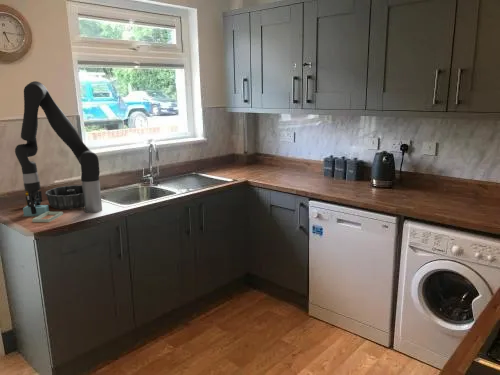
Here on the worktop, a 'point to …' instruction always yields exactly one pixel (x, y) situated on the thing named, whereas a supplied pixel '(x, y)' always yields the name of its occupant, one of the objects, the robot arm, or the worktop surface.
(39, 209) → the slotted block
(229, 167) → the worktop surface
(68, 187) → the bundt pan
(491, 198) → the worktop surface
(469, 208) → the worktop surface
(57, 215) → the tray
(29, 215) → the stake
